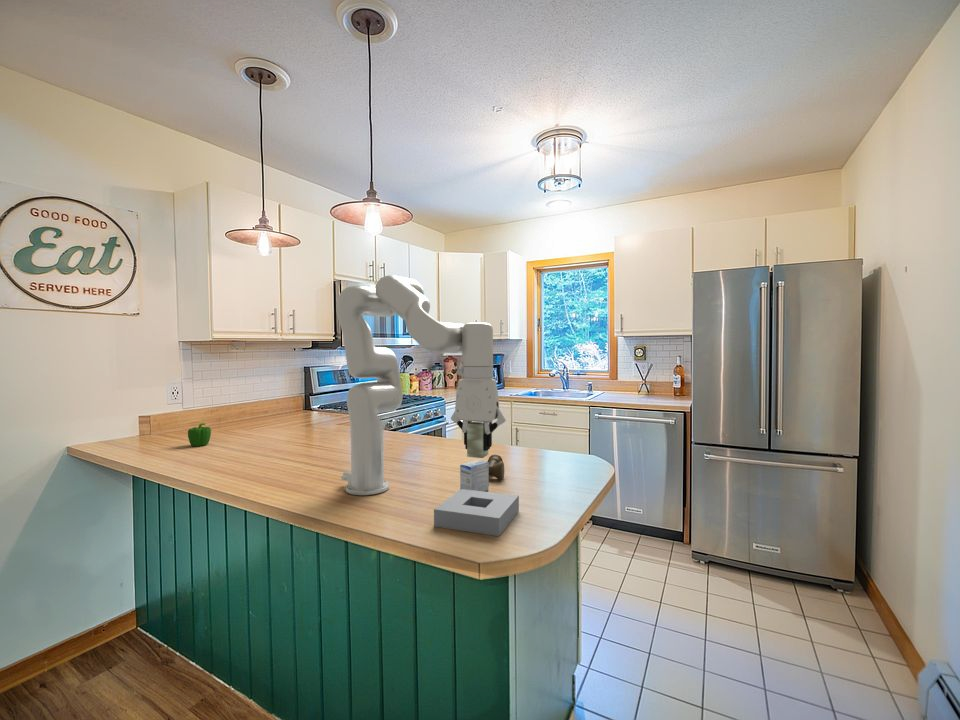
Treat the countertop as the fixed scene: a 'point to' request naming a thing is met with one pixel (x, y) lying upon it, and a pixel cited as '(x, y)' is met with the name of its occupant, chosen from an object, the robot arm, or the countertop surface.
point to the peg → (475, 440)
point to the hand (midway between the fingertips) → (477, 448)
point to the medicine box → (474, 475)
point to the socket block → (477, 512)
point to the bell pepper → (199, 435)
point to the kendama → (496, 466)
